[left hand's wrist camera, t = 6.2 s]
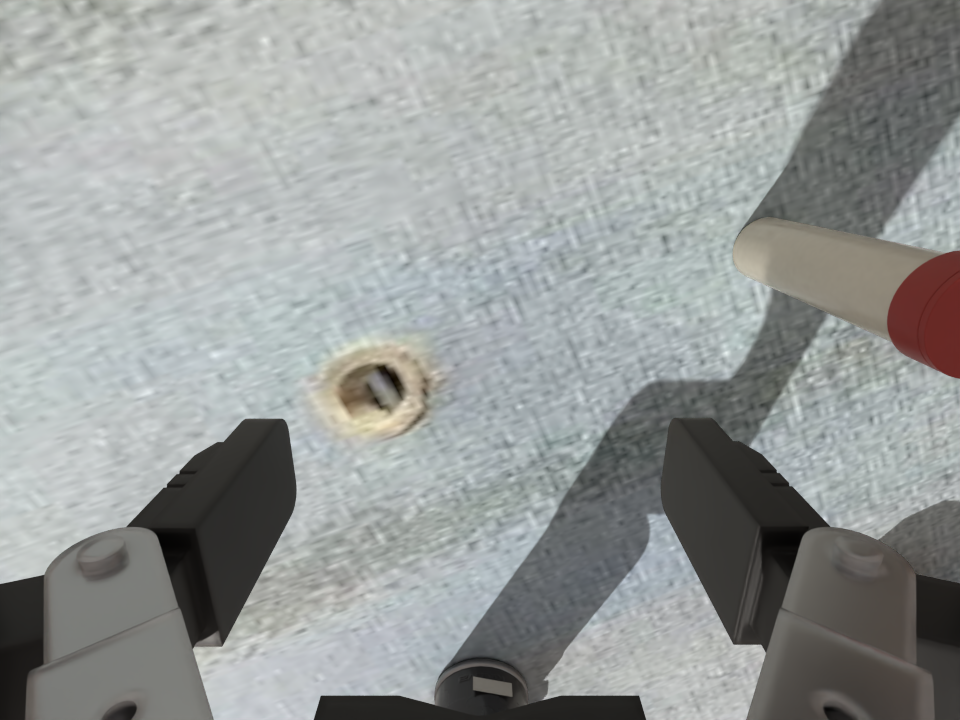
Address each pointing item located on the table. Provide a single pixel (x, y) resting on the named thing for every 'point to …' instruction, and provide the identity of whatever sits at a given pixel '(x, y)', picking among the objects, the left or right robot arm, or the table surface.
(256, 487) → the left robot arm
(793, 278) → the slim white bottle
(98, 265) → the table surface
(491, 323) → the table surface
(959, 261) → the lid
